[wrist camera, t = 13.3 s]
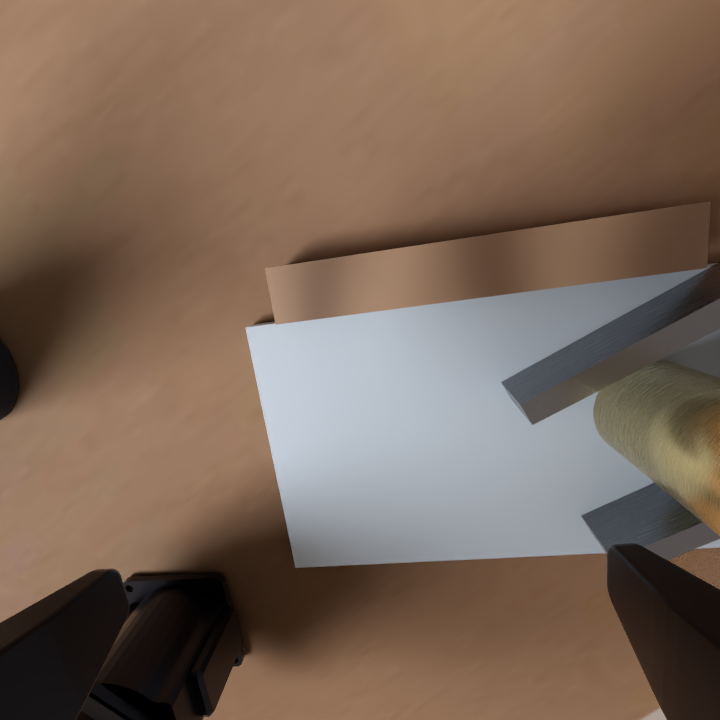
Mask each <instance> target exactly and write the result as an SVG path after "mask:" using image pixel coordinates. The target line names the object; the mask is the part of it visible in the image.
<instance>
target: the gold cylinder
mask: <svg viewBox="0 0 720 720" xmlns="http://www.w3.org/2000/svg"><path fill="white" fill-rule="evenodd" d="M593 417H594V423H595V426H596V429H597V431H598V433H599V435H600V436H601V438H602V439H603V440H604V441H605V442H606V443H607V444H608V445H609V446H611V447H612V448H613V449H614V450H615V451H617V452H618V453H619V454H620V455H622V456H623V457H624V458H625V459H626V460H628V461H629V462H630V463H631V464H633V465H634V466H635V467H636V468H637V469H639V470H640V471H641V472H642V473H643V474H645V475H646V476H647V477H648V478H650V479H651V480H652V481H653V482H654V483H656V484H657V485H658V486H659V487H661V488H662V489H663V490H664V491H665V492H667V493H668V494H669V495H670V496H671V497H673V498H674V499H675V500H676V501H678V502H679V503H680V504H681V505H682V506H684V507H685V508H686V509H687V510H689V511H690V512H691V513H692V514H693V515H695V516H696V517H697V518H698V519H700V520H701V521H702V522H703V523H704V524H706V525H707V526H708V527H709V528H710V529H712V530H713V531H714V532H715V533H717V534H718V535H719V536H720V378H719V377H716V376H713V375H710V374H707V373H704V372H701V371H698V370H695V369H692V368H689V367H686V366H683V365H680V364H677V363H674V362H671V361H667V360H661V359H660V360H658V361H656V362H654V363H652V364H650V365H648V366H646V367H645V368H643V369H641V370H639V371H637V372H635V373H633V374H631V375H629V376H627V377H625V378H623V379H621V380H619V381H617V382H615V383H613V384H612V385H610V386H608V387H606V388H604V389H602V390H600V391H599V392H598V395H597V397H596V400H595V403H594V409H593Z"/></svg>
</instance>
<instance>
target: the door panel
mask: <svg viewBox="0 0 720 720" xmlns="http://www.w3.org/2000/svg"><path fill="white" fill-rule="evenodd" d="M715 264H717V263H713V264H707V268H709V267H711V266H713V265H715ZM707 268H704V269H696V270H689V271H681V272H674V273H666V274H658V275H651V276H643V277H635V278H628V279H620V280H613V281H605V282H597V283H590V284H582V285H575V286H567V287H559V288H552V289H544V290H536V291H529V292H521V293H514V294H506V295H498V296H491V297H483V298H475V299H468V300H460V301H453V302H445V303H437V304H430V305H422V306H415V307H407V308H399V309H392V310H384V311H376V312H369V313H361V314H354V315H346V316H338V317H331V318H323V319H316V320H308V321H300V322H293V323H285V324H277V325H276V324H275V322H267V323H260V324H253V325H250V326H248V327H245V328H246V333H247V337H248V342H249V347H250V352H251V357H252V361H253V366H254V371H255V376H256V381H257V385H258V390H259V395H260V400H261V405H262V409H263V414H264V419H265V424H266V429H267V433H268V438H269V443H270V448H271V453H272V458H273V462H274V467H275V472H276V477H277V482H278V486H279V491H280V496H281V501H282V506H283V510H284V515H285V520H286V525H287V530H288V534H289V539H290V544H291V549H292V554H293V559H294V563H295V568H304V567H325V566H346V565H367V564H388V563H408V562H429V561H450V560H471V559H492V558H513V557H533V556H554V555H575V554H596V553H606V552H605V551H604V549H603V548H602V547H601V545H600V544H599V542H598V541H597V540H596V538H595V537H594V535H593V534H592V533H591V531H590V530H589V528H588V526H587V525H586V523H585V521H584V520H583V518H582V516H581V515H583V514H585V513H588V512H590V511H592V510H594V509H597V508H599V507H601V506H603V505H605V504H608V503H610V502H612V501H614V500H617V499H619V498H621V497H623V496H625V495H628V494H630V493H632V492H634V491H637V490H639V489H641V488H643V487H645V486H648V485H650V484H652V483H654V482H653V481H652V480H651V479H650V478H648V477H647V476H646V475H645V474H643V473H642V472H641V471H640V470H639V469H637V468H636V467H635V466H634V465H633V464H631V463H630V462H629V461H628V460H626V459H625V458H624V457H623V456H622V455H620V454H619V453H618V452H617V451H615V450H614V449H613V448H612V447H611V446H609V445H608V444H607V443H606V442H605V441H604V440H603V439H602V438H601V436H600V435H599V433H598V431H597V429H596V426H595V423H594V417H593V409H594V403H595V400H596V397H597V395H598V392H599V391H598V392H596V393H594V394H592V395H590V396H588V397H586V398H584V399H582V400H580V401H579V402H577V403H575V404H573V405H571V406H569V407H567V408H565V409H563V410H561V411H559V412H557V413H555V414H553V415H551V416H549V417H547V418H546V419H544V420H542V421H540V422H538V423H536V424H534V425H532V424H531V423H530V422H529V420H528V419H527V418H526V417H525V416H524V414H523V413H522V412H521V411H520V410H519V408H518V407H517V406H516V405H515V403H514V402H513V401H512V400H511V398H510V397H509V395H508V393H507V392H506V390H505V388H504V387H503V385H502V383H501V382H502V381H504V380H506V379H508V378H509V377H511V376H513V375H515V374H517V373H518V372H520V371H522V370H524V369H526V368H528V367H529V366H531V365H533V364H535V363H537V362H538V361H540V360H542V359H544V358H546V357H548V356H549V355H551V354H553V353H555V352H557V351H558V350H560V349H562V348H564V347H566V346H568V345H569V344H571V343H573V342H575V341H577V340H578V339H580V338H582V337H584V336H586V335H588V334H589V333H591V332H593V331H595V330H597V329H598V328H600V327H602V326H604V325H606V324H608V323H609V322H611V321H613V320H615V319H617V318H618V317H620V316H622V315H624V314H626V313H628V312H629V311H631V310H633V309H635V308H637V307H638V306H640V305H642V304H644V303H646V302H648V301H649V300H651V299H653V298H655V297H657V296H658V295H660V294H662V293H664V292H666V291H668V290H669V289H671V288H673V287H675V286H677V285H678V284H680V283H682V282H684V281H686V280H688V279H689V278H691V277H693V276H695V275H697V274H698V273H700V272H702V271H704V270H706V269H707ZM661 360H667V361H671V362H674V363H677V364H680V365H683V366H686V367H689V368H692V369H695V370H698V371H701V372H704V373H707V374H710V375H713V376H716V377H719V378H720V329H718V330H716V331H714V332H712V333H710V334H709V335H707V336H705V337H703V338H701V339H699V340H697V341H695V342H693V343H691V344H689V345H687V346H685V347H683V348H681V349H679V350H677V351H676V352H674V353H672V354H670V355H668V356H666V357H664V358H662V359H661ZM700 548H720V539H718V540H716V541H713V542H711V543H708V544H706V545H703V546H701V547H698V548H696V549H700Z"/></svg>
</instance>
